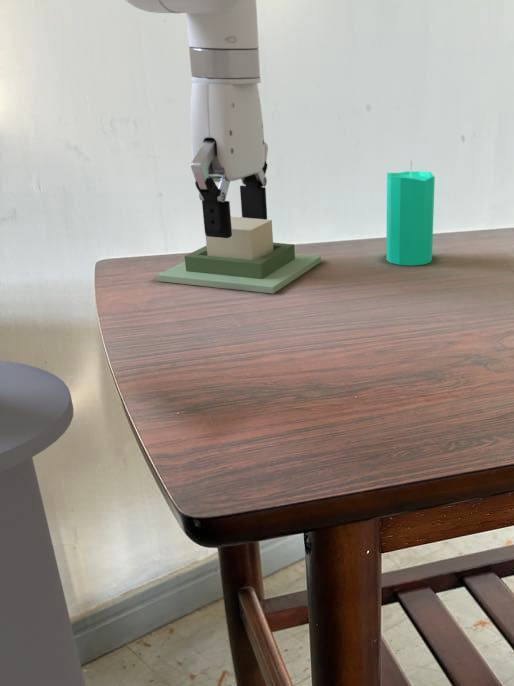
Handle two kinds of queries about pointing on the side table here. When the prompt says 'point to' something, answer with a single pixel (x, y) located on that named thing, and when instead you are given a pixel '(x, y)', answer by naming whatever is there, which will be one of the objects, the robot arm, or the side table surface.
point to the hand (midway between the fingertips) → (237, 228)
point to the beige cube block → (243, 240)
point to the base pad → (242, 270)
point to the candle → (410, 217)
